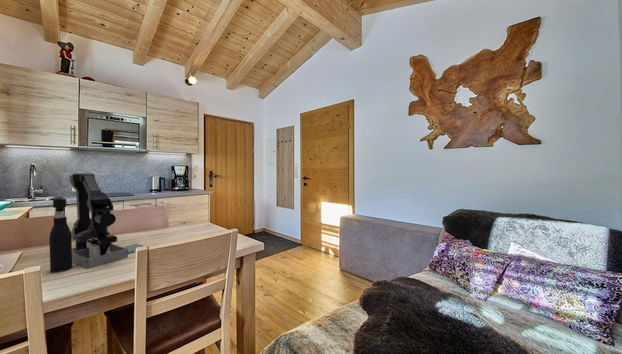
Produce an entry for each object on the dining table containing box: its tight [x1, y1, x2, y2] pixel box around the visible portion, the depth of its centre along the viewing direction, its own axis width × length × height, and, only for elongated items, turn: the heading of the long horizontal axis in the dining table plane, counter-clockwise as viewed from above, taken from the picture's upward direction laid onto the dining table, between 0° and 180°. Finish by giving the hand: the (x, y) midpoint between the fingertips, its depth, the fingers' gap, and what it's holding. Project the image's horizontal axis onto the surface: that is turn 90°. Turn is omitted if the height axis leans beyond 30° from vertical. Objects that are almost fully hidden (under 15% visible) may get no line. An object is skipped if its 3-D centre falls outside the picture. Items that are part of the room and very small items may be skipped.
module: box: [88, 244, 111, 259], centre depth 112 cm, size 4×6×7 cm
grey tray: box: [72, 243, 129, 270], centre depth 112 cm, size 17×15×4 cm
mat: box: [123, 243, 144, 255], centre depth 125 cm, size 11×9×1 cm
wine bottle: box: [48, 198, 73, 274], centre depth 99 cm, size 6×6×30 cm
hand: (100, 255), depth 112 cm, fingers closed on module, 4 cm apart
